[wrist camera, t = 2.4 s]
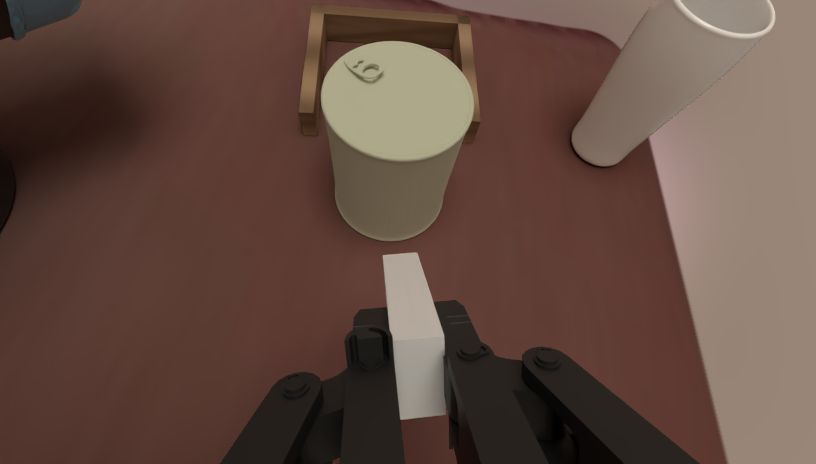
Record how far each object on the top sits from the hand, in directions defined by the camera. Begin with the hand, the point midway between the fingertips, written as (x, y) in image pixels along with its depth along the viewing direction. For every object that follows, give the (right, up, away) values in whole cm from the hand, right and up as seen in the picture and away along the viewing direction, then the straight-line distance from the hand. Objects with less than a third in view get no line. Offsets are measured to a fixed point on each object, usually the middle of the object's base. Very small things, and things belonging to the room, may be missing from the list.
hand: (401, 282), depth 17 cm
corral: (-1, +16, +21) cm, 27 cm away
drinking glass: (+18, +10, +21) cm, 29 cm away
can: (-1, +5, +17) cm, 18 cm away
